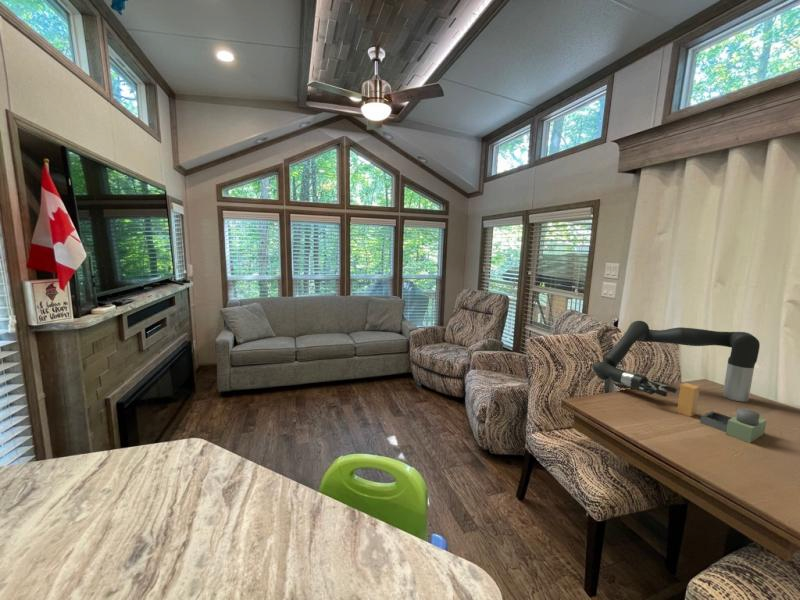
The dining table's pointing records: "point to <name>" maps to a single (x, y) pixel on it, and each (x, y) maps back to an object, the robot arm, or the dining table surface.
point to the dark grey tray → (709, 420)
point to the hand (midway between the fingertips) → (671, 392)
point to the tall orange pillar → (688, 399)
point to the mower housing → (746, 425)
